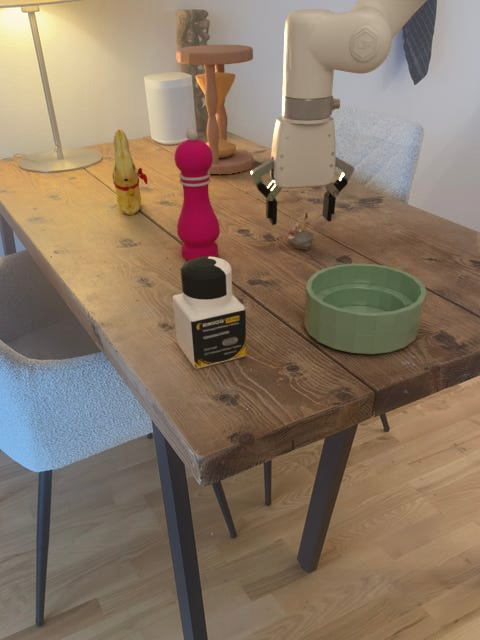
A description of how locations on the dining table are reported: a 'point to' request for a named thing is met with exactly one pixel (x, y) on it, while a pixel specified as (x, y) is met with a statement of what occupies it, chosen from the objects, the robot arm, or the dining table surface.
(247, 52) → the hourglass
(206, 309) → the medicine bottle
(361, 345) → the bowl
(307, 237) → the figurine
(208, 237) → the pepper mill
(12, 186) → the dining table surface
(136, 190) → the chocolate bunny
